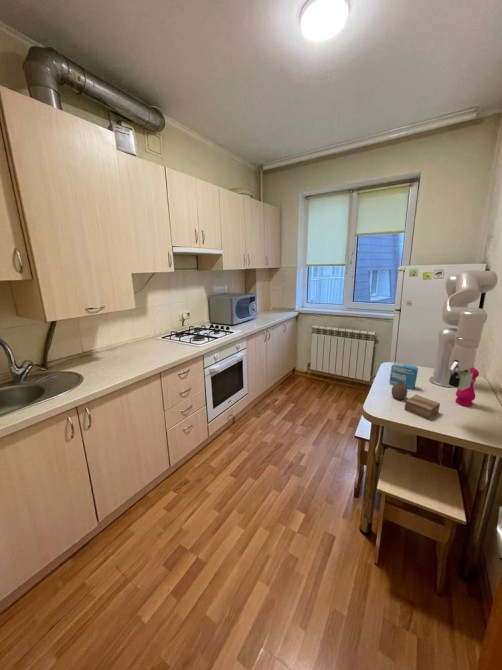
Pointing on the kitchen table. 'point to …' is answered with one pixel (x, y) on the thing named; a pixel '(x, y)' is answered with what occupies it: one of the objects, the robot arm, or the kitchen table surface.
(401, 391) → the vase
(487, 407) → the kitchen table surface
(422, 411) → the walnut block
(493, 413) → the kitchen table surface
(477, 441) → the kitchen table surface
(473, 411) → the kitchen table surface
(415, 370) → the data package
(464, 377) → the green cube
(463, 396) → the pepper mill
